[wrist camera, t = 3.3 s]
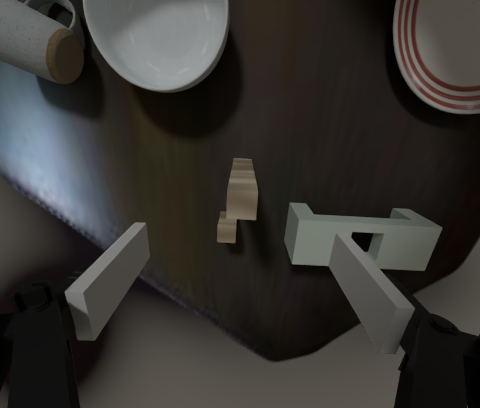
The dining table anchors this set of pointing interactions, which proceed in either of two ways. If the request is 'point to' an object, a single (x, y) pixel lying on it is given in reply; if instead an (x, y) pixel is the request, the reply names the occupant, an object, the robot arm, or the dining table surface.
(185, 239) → the dining table surface
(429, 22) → the dinner plate
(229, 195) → the tall pin
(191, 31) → the cereal bowl
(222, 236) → the short pin
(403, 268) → the bridge
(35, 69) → the ceramic mug
